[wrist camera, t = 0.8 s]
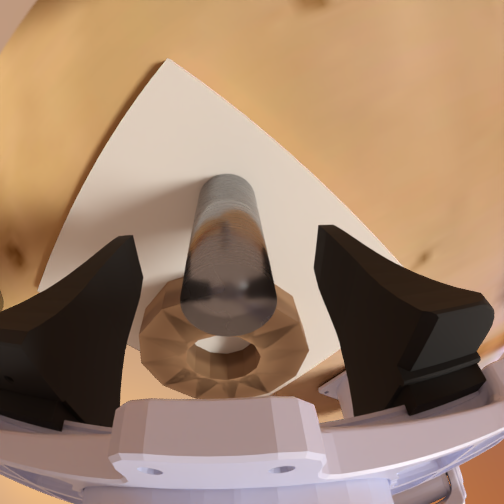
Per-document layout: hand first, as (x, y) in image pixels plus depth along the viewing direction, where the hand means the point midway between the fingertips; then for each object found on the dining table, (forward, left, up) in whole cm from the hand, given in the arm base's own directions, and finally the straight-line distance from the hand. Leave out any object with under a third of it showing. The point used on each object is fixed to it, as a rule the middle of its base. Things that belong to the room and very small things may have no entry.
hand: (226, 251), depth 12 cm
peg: (0, 0, -5) cm, 5 cm away
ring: (-6, +8, -5) cm, 11 cm away
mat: (-4, +5, -6) cm, 9 cm away
